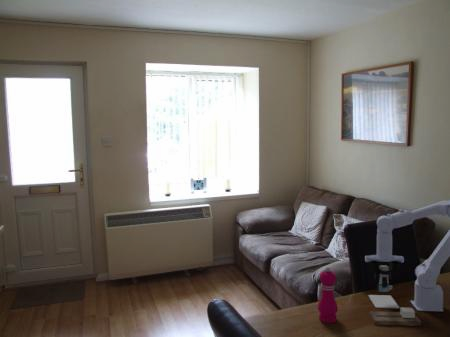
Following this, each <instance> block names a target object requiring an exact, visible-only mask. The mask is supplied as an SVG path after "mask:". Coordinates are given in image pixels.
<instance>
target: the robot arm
mask: <svg viewBox="0 0 450 337" xmlns="http://www.w3.org/2000/svg"><path fill="white" fill-rule="evenodd" d="M433 215H439V216H442V217H447V216H448V217H449V218H448V219H450V198H449V199H447V200H445V199H443V200H441V201H438V202H434V203H432V204H429V205H427V206H422V207H420V208H417V209H415V210H408V209H405V210H404V209H402V208H401V209H399V211H397V212H394V213H392V214H391V213H387V214H386V215H381V216H379V217H378V218H377V220H376V226H377V229H376V233H377V234H376V254H371V255H365V256H364V261H365V263H370V265H371V269H372V270H373V275H374V279H375V280H376V281H377V280H378V281H379V273H378V268H379V267H380V265H379V263H380V262H388V263H389V268H390V269H391V270H392V271H391V274H389V279H390V280H391V281H393V280H394V277H395V274H396V272H397V270H398V269H399V267H400V263H404V262H405V258H404V256H402V255H394V254H393V234H392V233H393V230H394V229H398V228H401V227H406V226H408V225H412V224H413V223H414V221H415V220H418V219H422V218H426V217H430V216H433ZM449 258H450V229H449V230H448V231H447V233H446V234H445V236H444V237H443V238H442V240H440V242H439V243H438V245H437V246H436V248H435V249H434V250H433V252H432V254H430V256H429V257H428V258H427V259H425V260H424V261H423V262H422V263H420V264H419V265H417V266H416V268H415V269H414V275H415V276H416V280H415V281H414V298H413V300H410V301H409V302H410V303H411V305H412V306H413V307H414V308H415V309H416V310H417V311H419V312H444V291H443V288H442V286H441V285H440V284H437V282H438V281H437V280H438V278H439V276H440V273H441V268H443V266H444V264H446V262H447V261H448V259H449ZM378 262H379V263H378ZM399 262H400V263H399Z"/></svg>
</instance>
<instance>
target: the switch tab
mask: <svg viewBox="0 0 450 337" xmlns="http://www.w3.org/2000/svg"><path fill="white" fill-rule="evenodd" d="M399 312H400V314H401V316H402V317H403V318H415V315H416V311H415V309H414V308H412V307H403V306H401V307H400V306H399Z"/></svg>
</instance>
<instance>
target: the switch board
mask: <svg viewBox="0 0 450 337" xmlns="http://www.w3.org/2000/svg"><path fill="white" fill-rule="evenodd" d="M368 313H369V314H368V315H369V317H370V319H371V321H372V323H373V324H374V325H375V326H376V325H378V326H379V325H381V326H407V327H408V326H414V327H421V326H422V321H421V319H420V318H419V317H418V316H417V315H416V314H415V318H403V317H402V316H401V314H400V311H379V310H378V311H377V310H376V311H374V310H373V311H372V310H371V311H369V312H368Z"/></svg>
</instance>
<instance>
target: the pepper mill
mask: <svg viewBox="0 0 450 337" xmlns="http://www.w3.org/2000/svg"><path fill="white" fill-rule="evenodd" d="M319 281H320V282H321V283H320V288H321V290H322V293H321V297H320V298H319V301H318V303H317V311H319V313H318V318H319V320H320V321H321V322H323V323H326V324H333V323H336V321H337V313H338V311H339V307H338V303H337V301H336V298H335V295H334V290H335V289H336V283H337V276H336V273H334V272H333V271H331V267H329V266H326V267H325V270H323V271H321V272H320V274H319Z"/></svg>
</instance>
